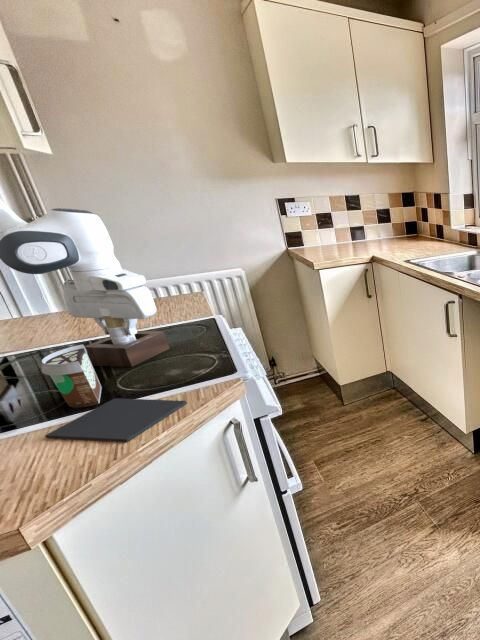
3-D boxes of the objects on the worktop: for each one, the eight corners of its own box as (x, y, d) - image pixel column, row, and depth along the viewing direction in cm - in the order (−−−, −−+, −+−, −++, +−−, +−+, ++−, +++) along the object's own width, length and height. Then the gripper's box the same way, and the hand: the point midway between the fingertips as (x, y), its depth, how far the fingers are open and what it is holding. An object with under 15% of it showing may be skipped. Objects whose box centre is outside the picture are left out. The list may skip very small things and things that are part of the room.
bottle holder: (91, 365, 103) (82, 347, 101) (132, 347, 113) (125, 330, 111) (132, 367, 102) (124, 348, 100) (170, 348, 112) (163, 331, 110)
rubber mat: (46, 438, 75) (44, 435, 75) (115, 400, 87) (114, 398, 87) (127, 442, 74) (126, 439, 73) (187, 403, 85) (186, 400, 85)
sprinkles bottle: (130, 352, 109) (111, 302, 104) (146, 352, 109) (128, 303, 104) (113, 359, 105) (92, 308, 100) (130, 360, 105) (110, 308, 100)
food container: (63, 394, 90) (42, 351, 86) (102, 384, 93) (83, 343, 90) (56, 418, 81) (32, 371, 77) (98, 406, 85) (78, 362, 81)
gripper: (46, 282, 97) (70, 337, 103) (126, 283, 96) (147, 339, 101) (74, 275, 103) (96, 328, 108) (151, 276, 101) (169, 330, 107)
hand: (121, 334), depth 105 cm, fingers closed on sprinkles bottle, 4 cm apart
